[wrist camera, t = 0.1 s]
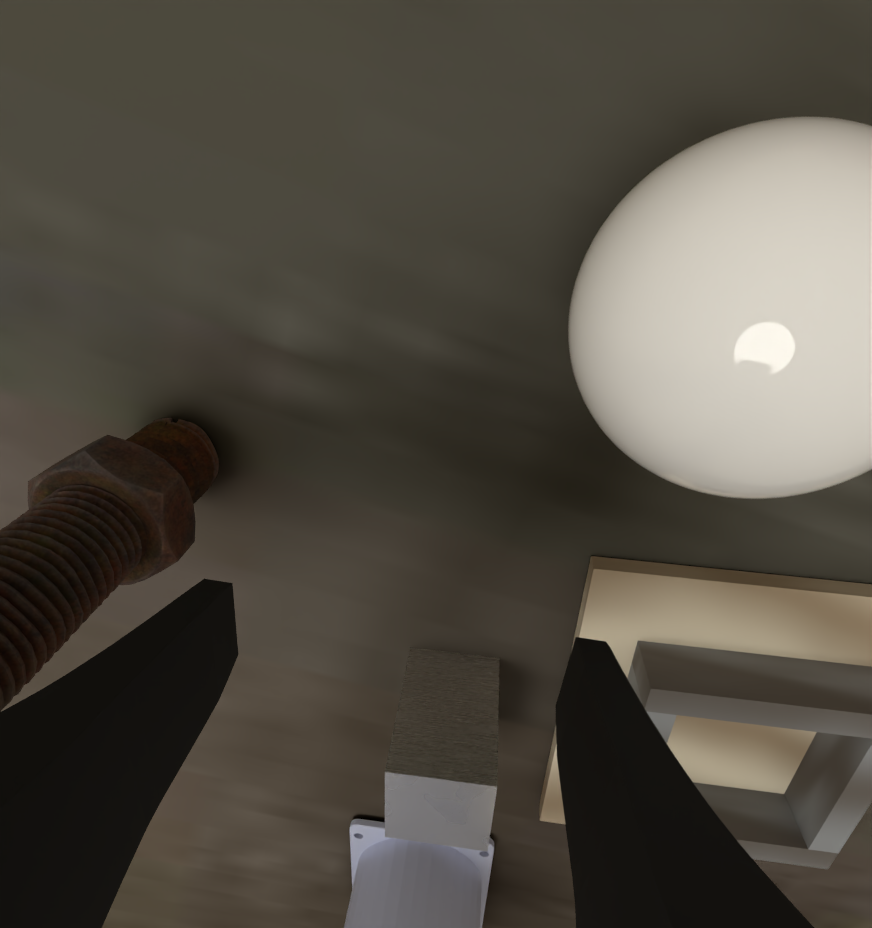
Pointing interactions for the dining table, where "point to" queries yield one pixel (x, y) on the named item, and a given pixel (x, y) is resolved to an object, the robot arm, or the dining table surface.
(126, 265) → the dining table surface
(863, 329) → the lightbulb
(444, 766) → the peg
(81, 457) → the bolt
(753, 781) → the socket base
